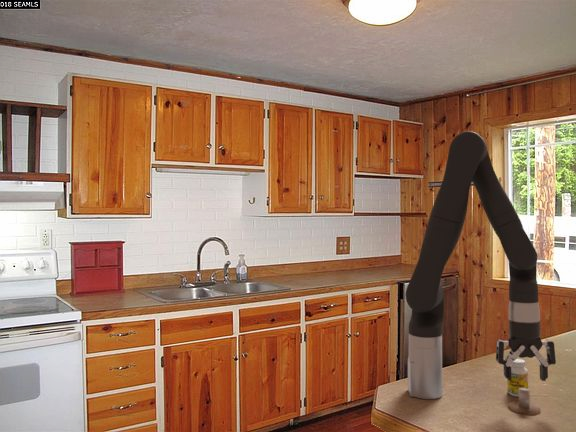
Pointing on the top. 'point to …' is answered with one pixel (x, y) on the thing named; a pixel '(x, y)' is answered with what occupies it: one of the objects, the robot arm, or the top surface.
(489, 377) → the top surface
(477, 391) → the top surface
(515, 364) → the supplement bottle
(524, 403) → the lid
